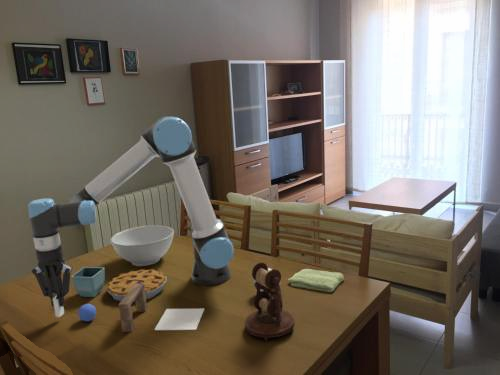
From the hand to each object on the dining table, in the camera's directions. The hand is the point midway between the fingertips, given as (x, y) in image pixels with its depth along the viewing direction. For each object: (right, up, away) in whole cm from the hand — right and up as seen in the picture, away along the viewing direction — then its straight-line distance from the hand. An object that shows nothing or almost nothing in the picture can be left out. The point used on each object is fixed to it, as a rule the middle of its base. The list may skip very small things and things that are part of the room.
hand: (60, 314), depth 144 cm
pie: (+21, +3, +20) cm, 29 cm away
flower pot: (+4, +2, +19) cm, 19 cm away
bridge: (+26, -1, -2) cm, 26 cm away
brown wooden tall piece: (+69, 0, -13) cm, 70 cm away
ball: (+9, +1, -1) cm, 10 cm away
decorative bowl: (+17, +10, +49) cm, 52 cm away
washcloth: (+87, +7, +16) cm, 88 cm away
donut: (+69, +4, +8) cm, 69 cm away
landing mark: (+40, 0, -4) cm, 41 cm away
